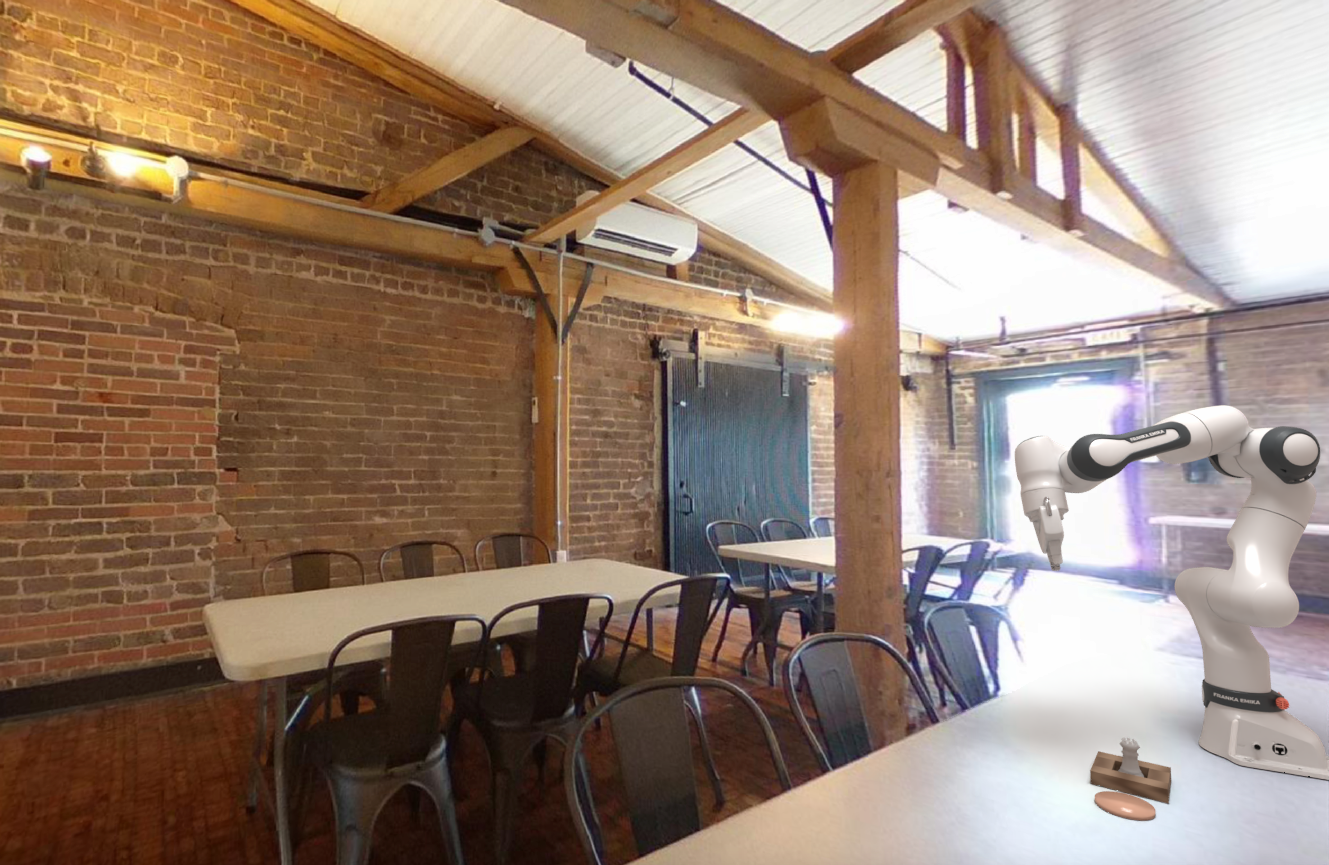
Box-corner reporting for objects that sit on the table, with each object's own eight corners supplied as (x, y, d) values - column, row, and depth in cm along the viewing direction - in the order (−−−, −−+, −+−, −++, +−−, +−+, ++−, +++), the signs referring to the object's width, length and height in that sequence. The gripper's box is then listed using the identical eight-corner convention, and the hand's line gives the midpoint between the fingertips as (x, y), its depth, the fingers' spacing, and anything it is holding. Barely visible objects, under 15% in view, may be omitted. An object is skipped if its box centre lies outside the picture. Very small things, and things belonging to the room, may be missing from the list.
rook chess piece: (1111, 777, 130) (1110, 736, 131) (1132, 776, 130) (1131, 735, 131) (1129, 788, 126) (1127, 745, 126) (1151, 787, 126) (1149, 744, 126)
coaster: (1157, 806, 119) (1157, 801, 119) (1154, 826, 112) (1153, 821, 112) (1098, 790, 124) (1098, 786, 124) (1091, 809, 117) (1091, 804, 117)
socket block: (1171, 780, 129) (1170, 767, 129) (1168, 803, 120) (1167, 789, 120) (1098, 763, 136) (1098, 751, 137) (1090, 783, 127) (1090, 770, 127)
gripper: (1063, 492, 139) (1077, 558, 134) (1058, 514, 156) (1070, 573, 151) (1029, 496, 141) (1042, 560, 136) (1028, 516, 158) (1039, 574, 153)
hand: (1057, 567), depth 144 cm, fingers open, 8 cm apart
